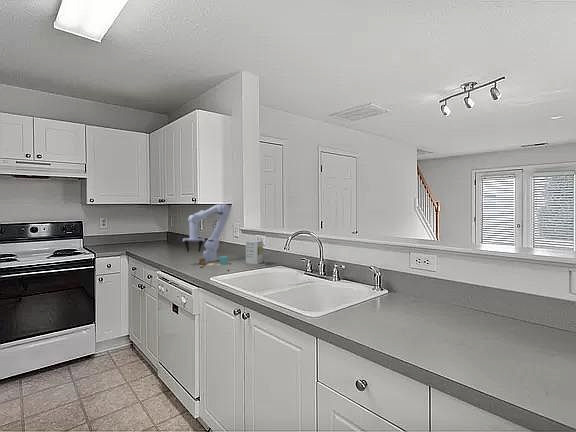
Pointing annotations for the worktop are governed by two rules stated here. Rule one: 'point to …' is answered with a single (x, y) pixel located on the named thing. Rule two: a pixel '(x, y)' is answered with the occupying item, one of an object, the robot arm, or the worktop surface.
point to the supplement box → (254, 252)
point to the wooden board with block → (202, 263)
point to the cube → (223, 260)
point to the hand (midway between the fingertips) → (193, 251)
